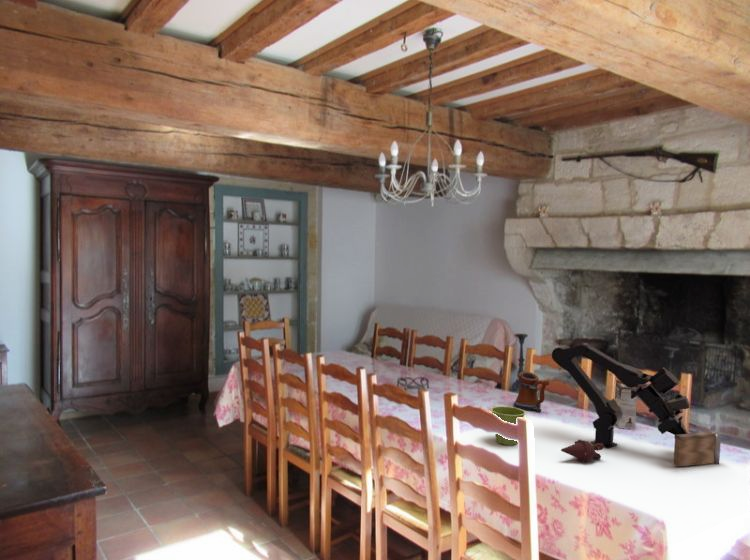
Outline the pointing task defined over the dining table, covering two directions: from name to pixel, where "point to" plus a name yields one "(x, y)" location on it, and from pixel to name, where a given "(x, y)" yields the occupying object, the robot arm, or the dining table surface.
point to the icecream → (584, 450)
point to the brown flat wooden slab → (694, 448)
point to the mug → (530, 392)
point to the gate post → (717, 448)
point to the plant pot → (509, 416)
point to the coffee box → (626, 406)
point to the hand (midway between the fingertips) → (690, 440)
